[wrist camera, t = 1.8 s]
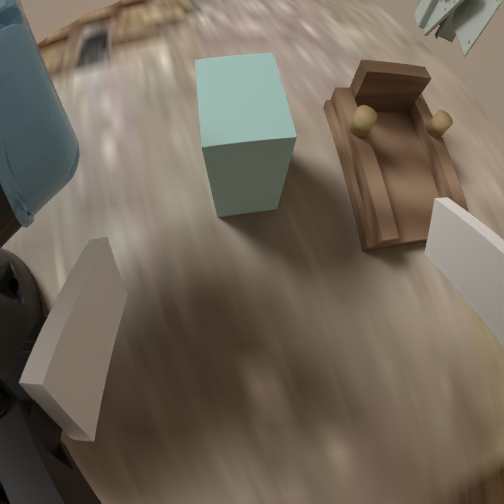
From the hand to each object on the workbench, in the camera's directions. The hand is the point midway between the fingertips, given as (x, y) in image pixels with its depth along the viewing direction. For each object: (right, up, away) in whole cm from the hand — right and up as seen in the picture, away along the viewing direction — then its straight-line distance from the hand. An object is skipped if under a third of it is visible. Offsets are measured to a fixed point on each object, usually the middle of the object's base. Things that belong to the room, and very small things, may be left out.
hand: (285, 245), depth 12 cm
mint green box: (-2, +6, +16) cm, 17 cm away
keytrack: (+12, +8, +16) cm, 22 cm away
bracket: (+28, +36, +24) cm, 51 cm away
